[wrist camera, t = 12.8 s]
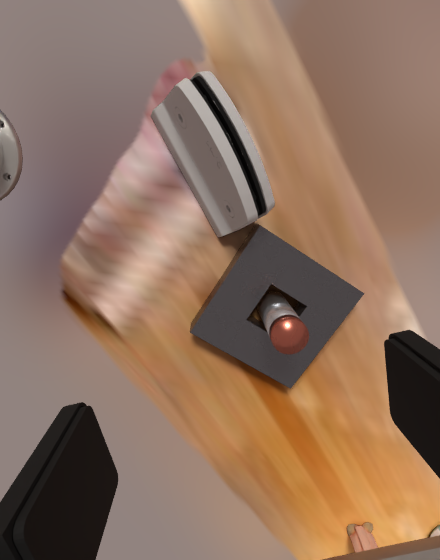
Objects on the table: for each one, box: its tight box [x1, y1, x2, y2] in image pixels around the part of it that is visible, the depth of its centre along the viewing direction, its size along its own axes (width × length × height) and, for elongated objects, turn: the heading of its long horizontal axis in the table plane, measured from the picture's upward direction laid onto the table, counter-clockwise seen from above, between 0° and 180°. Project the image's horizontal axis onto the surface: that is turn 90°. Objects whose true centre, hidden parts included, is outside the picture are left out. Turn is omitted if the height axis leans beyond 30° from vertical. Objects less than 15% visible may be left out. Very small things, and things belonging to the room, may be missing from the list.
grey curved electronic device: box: [151, 71, 275, 237], centre depth 35 cm, size 17×5×10 cm, turn 29°
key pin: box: [257, 291, 309, 354], centre depth 39 cm, size 4×4×10 cm
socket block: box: [190, 223, 364, 388], centre depth 42 cm, size 16×16×3 cm
